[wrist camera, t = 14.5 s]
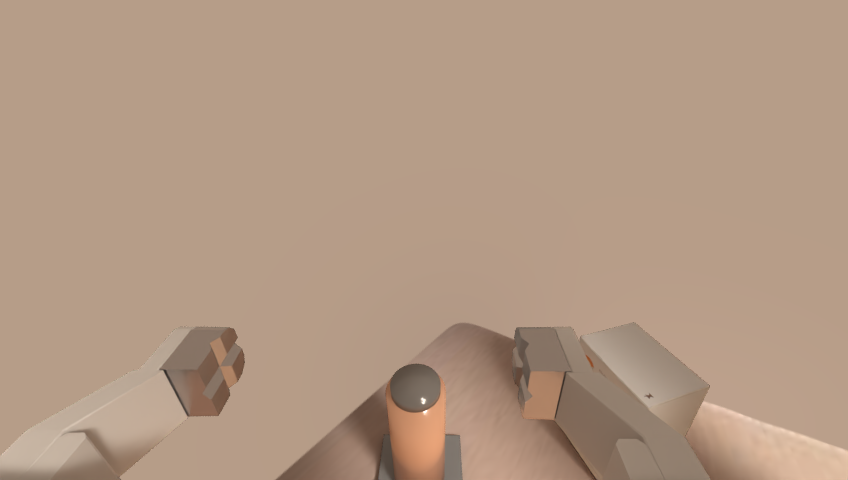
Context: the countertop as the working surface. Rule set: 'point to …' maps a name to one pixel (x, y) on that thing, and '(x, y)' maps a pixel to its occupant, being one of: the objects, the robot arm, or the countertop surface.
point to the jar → (417, 423)
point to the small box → (645, 376)
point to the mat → (451, 459)
